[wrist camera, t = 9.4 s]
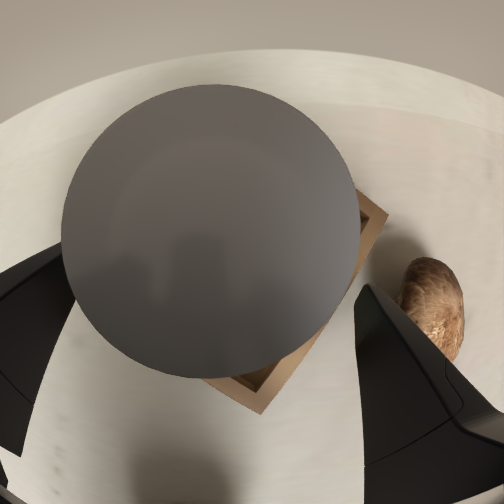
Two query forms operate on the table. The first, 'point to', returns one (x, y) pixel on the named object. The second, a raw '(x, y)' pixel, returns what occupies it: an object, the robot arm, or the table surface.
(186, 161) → the disc
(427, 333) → the mushroom
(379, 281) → the table surface
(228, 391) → the tray
